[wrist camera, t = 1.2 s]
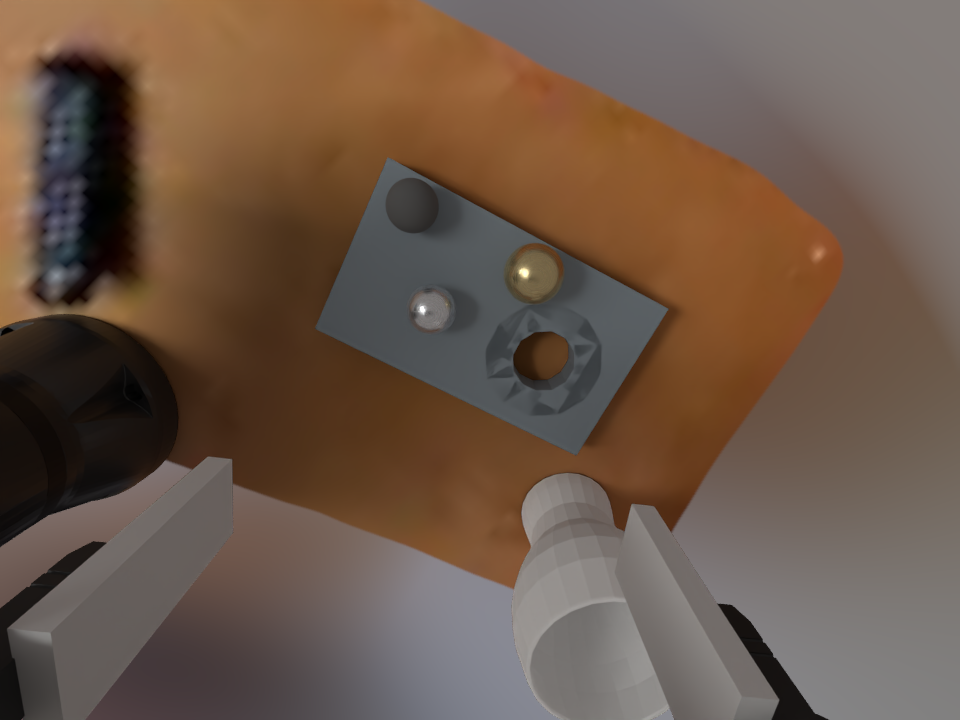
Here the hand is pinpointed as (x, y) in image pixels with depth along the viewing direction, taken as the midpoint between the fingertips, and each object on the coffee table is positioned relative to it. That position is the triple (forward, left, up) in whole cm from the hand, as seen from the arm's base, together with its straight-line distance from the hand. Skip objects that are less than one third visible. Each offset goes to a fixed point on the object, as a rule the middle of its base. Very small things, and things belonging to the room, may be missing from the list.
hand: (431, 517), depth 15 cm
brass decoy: (+1, +8, -18) cm, 20 cm away
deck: (0, +4, -22) cm, 23 cm away
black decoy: (-8, +8, -18) cm, 21 cm away
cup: (+14, -9, -23) cm, 28 cm away
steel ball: (-4, +3, -18) cm, 19 cm away
